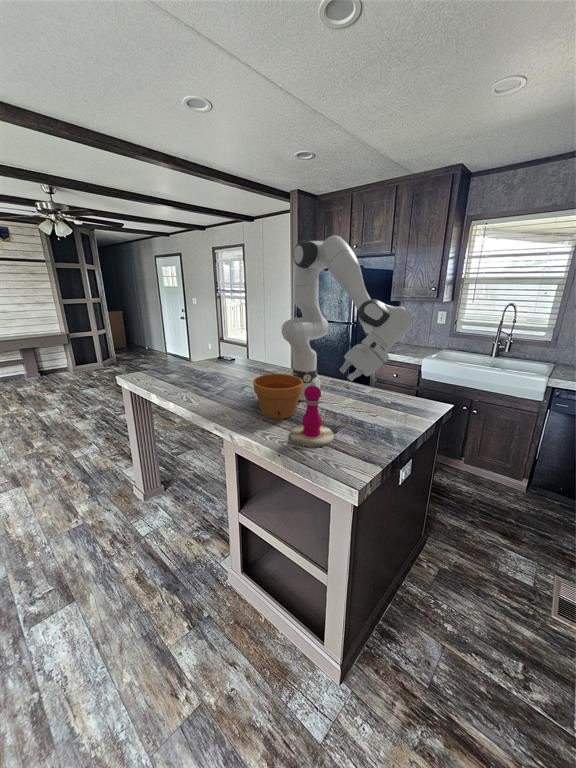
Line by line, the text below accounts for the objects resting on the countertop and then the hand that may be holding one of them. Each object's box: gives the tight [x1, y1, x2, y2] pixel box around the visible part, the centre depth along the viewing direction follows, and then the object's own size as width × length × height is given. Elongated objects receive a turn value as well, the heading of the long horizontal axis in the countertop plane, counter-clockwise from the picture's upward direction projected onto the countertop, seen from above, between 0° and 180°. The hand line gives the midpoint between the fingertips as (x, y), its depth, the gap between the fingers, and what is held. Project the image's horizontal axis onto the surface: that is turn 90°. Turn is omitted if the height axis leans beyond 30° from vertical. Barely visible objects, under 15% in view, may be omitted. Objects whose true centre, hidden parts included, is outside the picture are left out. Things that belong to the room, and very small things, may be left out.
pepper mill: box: [301, 382, 323, 437], centre depth 116 cm, size 7×7×20 cm
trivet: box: [289, 424, 335, 448], centre depth 119 cm, size 16×16×1 cm
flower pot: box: [252, 373, 303, 420], centre depth 138 cm, size 21×21×15 cm
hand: (344, 375), depth 113 cm, fingers open, 8 cm apart
